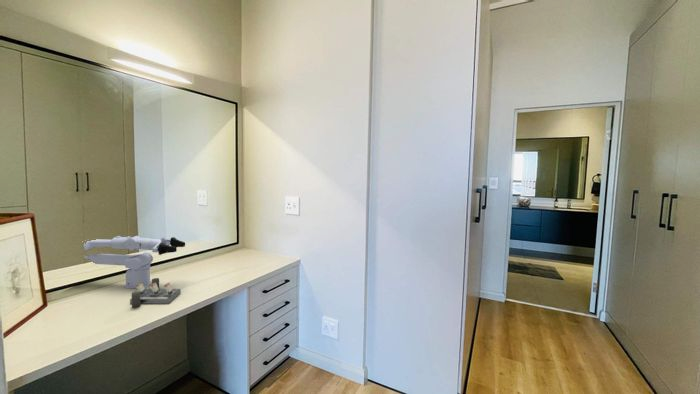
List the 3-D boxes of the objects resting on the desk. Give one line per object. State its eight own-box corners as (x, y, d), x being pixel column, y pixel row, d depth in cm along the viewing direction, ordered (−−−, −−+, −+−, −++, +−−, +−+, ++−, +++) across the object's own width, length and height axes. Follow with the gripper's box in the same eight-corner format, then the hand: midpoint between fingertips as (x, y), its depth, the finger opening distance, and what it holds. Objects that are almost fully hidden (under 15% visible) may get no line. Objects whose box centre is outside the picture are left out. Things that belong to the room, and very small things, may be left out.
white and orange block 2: (153, 294, 131) (149, 285, 130) (157, 291, 133) (153, 283, 133) (156, 293, 131) (152, 284, 130) (159, 290, 134) (155, 282, 133)
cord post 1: (130, 307, 123) (129, 294, 122) (134, 304, 126) (134, 291, 125) (137, 307, 123) (137, 294, 123) (142, 304, 126) (141, 291, 125)
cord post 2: (150, 292, 138) (150, 280, 137) (154, 289, 141) (153, 278, 140) (157, 292, 138) (157, 280, 137) (160, 289, 141) (160, 278, 140)
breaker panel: (130, 303, 126) (129, 298, 126) (145, 293, 137) (144, 287, 137) (168, 303, 128) (168, 298, 128) (180, 293, 139) (180, 287, 138)
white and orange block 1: (139, 294, 130) (135, 285, 129) (143, 291, 133) (139, 283, 132) (142, 293, 130) (138, 284, 129) (145, 290, 133) (141, 282, 132)
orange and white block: (167, 294, 131) (163, 285, 131) (170, 291, 134) (167, 283, 134) (170, 293, 131) (166, 284, 131) (173, 290, 134) (169, 282, 134)
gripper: (142, 241, 136) (172, 243, 136) (162, 232, 150) (188, 235, 151) (142, 255, 137) (171, 258, 137) (161, 245, 151) (188, 248, 152)
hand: (180, 247), depth 144 cm, fingers open, 7 cm apart
